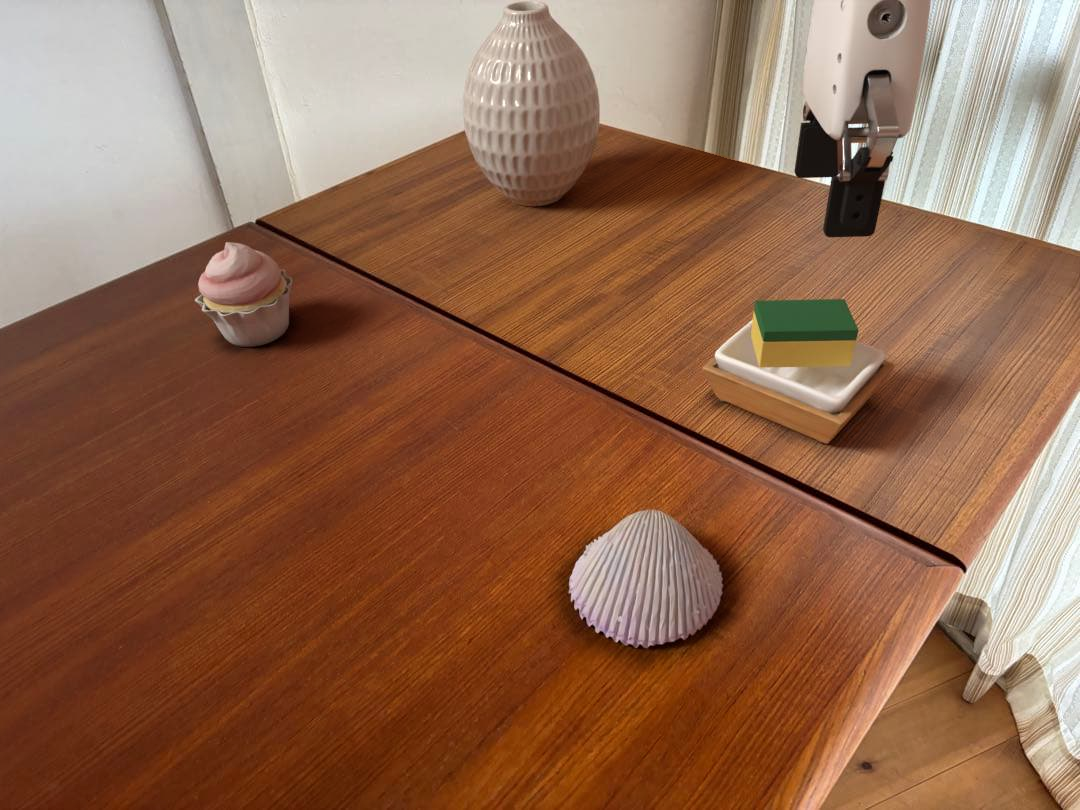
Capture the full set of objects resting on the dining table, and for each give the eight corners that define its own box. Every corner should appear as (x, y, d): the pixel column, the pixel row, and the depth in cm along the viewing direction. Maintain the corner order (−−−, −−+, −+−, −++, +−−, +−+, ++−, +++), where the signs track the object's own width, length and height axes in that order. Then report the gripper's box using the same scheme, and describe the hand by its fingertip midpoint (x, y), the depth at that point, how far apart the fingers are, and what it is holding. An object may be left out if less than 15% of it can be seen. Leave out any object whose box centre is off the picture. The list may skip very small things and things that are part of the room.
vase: (465, 225, 101) (443, 29, 87) (478, 170, 114) (460, -9, 100) (601, 222, 100) (600, 22, 87) (598, 167, 113) (598, -15, 99)
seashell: (726, 500, 59) (731, 590, 50) (718, 564, 62) (722, 660, 53) (581, 486, 61) (561, 571, 52) (578, 549, 63) (559, 640, 54)
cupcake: (206, 318, 88) (176, 230, 81) (297, 298, 90) (274, 211, 84) (211, 367, 81) (178, 275, 74) (309, 344, 83) (285, 253, 77)
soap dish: (887, 399, 72) (899, 350, 69) (834, 460, 66) (845, 410, 63) (756, 349, 79) (762, 302, 75) (698, 401, 73) (702, 352, 70)
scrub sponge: (837, 334, 71) (844, 298, 69) (850, 366, 67) (859, 329, 65) (750, 335, 71) (754, 300, 69) (759, 367, 68) (764, 331, 66)
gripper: (1002, -49, 42) (924, 260, 52) (900, -98, 56) (854, 155, 66) (847, -42, 42) (801, 263, 53) (784, -92, 56) (757, 158, 66)
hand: (831, 203), depth 59 cm, fingers open, 9 cm apart
